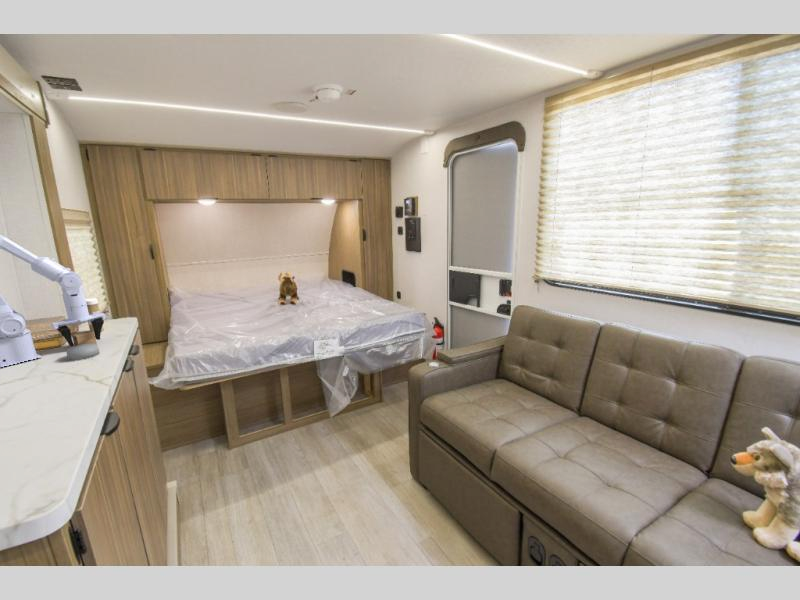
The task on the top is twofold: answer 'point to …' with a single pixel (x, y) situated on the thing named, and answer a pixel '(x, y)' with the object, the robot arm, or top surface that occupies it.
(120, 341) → the top surface
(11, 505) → the top surface
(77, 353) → the grey rounded dome
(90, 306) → the sprinkles bottle
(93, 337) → the walnut block
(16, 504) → the top surface
